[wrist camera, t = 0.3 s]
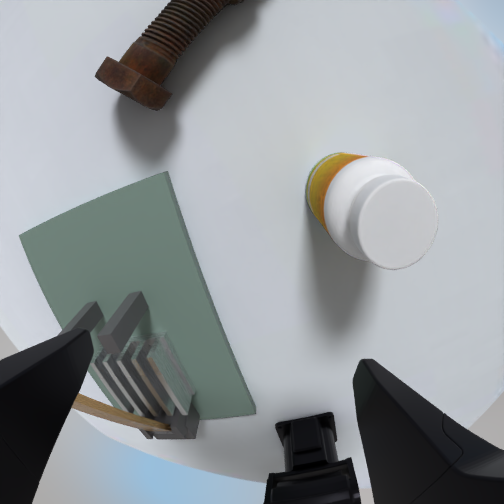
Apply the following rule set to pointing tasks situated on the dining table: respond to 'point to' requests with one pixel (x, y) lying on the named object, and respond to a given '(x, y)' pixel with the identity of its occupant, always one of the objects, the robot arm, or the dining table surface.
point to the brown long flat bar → (119, 415)
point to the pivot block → (176, 424)
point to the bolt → (159, 51)
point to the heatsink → (146, 375)
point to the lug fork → (112, 321)
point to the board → (140, 283)
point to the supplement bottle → (372, 209)
